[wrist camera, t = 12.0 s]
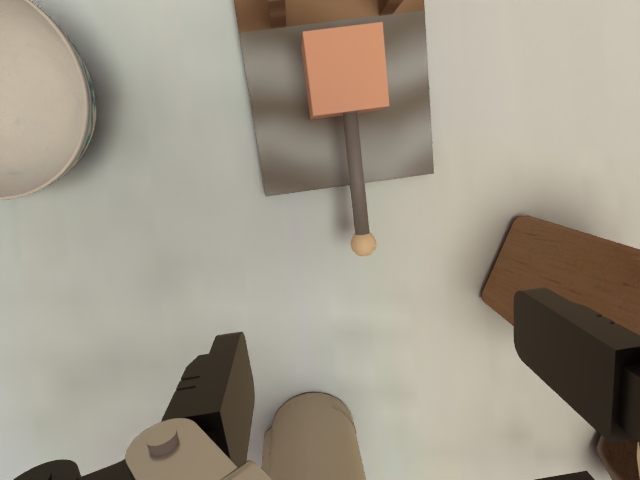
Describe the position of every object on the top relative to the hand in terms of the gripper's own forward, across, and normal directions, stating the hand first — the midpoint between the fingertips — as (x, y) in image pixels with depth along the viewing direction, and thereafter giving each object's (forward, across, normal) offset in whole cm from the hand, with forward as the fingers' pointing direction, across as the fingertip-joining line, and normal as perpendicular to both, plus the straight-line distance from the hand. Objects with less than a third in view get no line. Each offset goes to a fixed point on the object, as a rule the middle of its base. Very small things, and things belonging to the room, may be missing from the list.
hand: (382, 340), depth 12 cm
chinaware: (+28, +23, -12) cm, 38 cm away
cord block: (+27, -3, -5) cm, 27 cm away
